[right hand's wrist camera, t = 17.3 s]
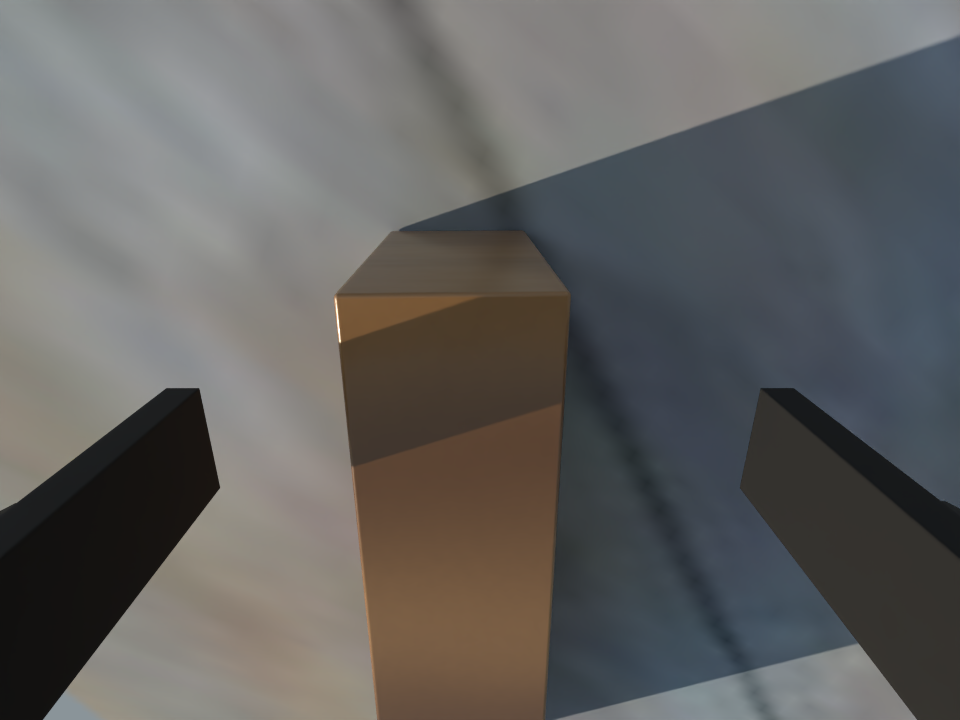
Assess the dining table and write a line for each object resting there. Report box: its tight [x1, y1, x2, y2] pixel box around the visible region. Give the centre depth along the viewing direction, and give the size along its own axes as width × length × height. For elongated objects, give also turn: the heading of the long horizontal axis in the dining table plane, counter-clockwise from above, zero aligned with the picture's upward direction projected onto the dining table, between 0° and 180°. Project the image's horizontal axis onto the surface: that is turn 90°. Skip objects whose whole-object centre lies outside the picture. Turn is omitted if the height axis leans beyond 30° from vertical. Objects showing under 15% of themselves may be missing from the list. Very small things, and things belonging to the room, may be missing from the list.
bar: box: [334, 231, 571, 720], centre depth 20 cm, size 26×5×9 cm, turn 0°
